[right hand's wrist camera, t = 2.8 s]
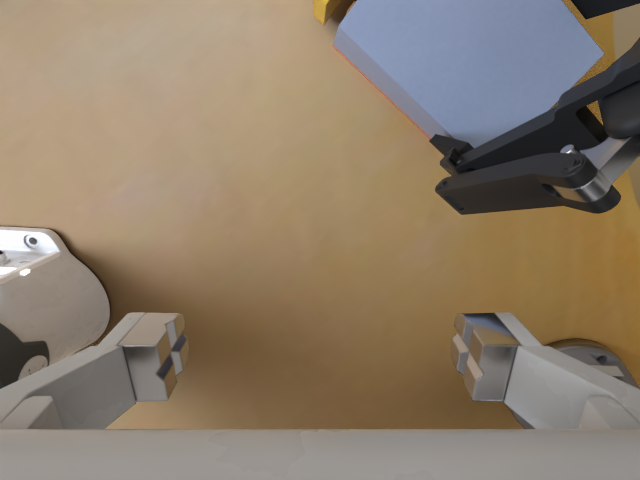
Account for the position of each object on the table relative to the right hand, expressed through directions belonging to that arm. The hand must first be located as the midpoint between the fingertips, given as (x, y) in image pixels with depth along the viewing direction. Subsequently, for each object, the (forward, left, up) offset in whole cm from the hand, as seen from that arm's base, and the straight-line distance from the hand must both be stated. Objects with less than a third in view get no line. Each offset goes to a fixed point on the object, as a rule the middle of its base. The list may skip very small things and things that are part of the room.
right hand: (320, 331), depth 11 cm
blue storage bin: (+8, +13, -29) cm, 33 cm away
